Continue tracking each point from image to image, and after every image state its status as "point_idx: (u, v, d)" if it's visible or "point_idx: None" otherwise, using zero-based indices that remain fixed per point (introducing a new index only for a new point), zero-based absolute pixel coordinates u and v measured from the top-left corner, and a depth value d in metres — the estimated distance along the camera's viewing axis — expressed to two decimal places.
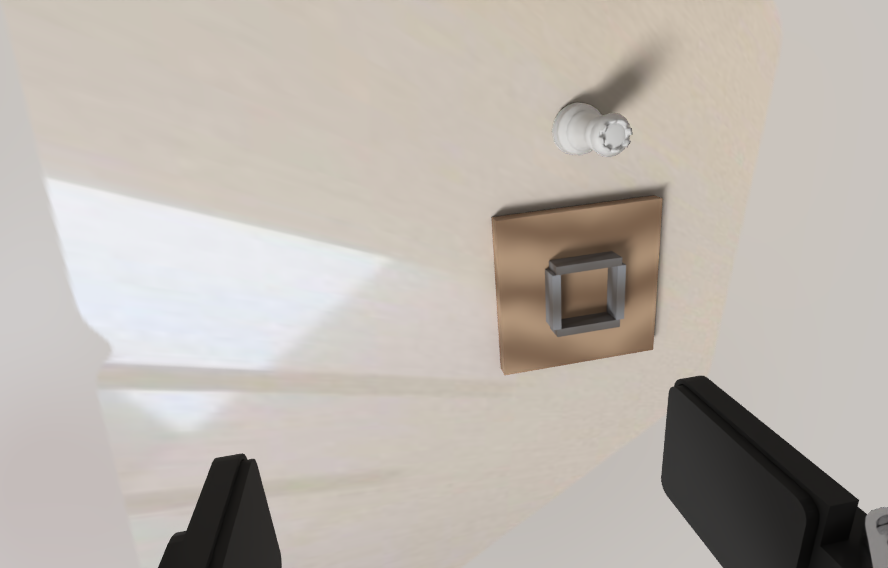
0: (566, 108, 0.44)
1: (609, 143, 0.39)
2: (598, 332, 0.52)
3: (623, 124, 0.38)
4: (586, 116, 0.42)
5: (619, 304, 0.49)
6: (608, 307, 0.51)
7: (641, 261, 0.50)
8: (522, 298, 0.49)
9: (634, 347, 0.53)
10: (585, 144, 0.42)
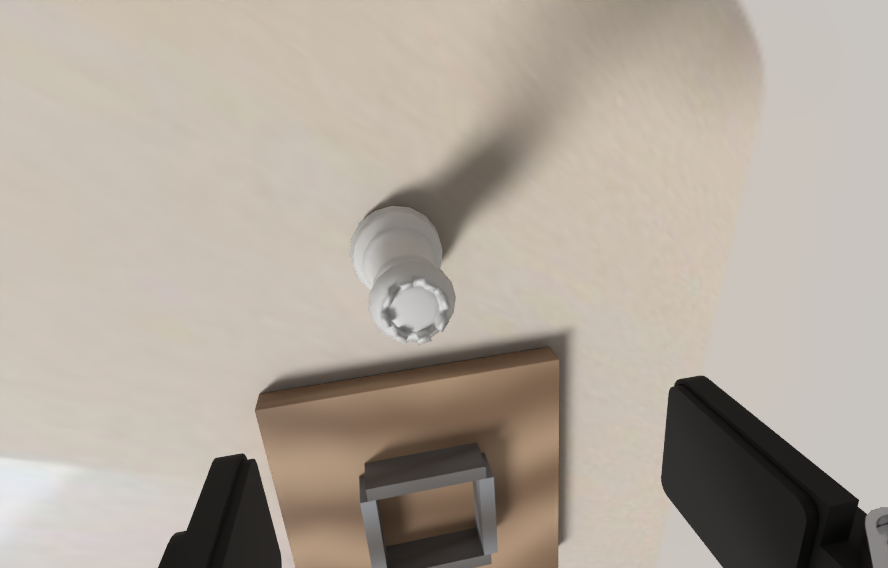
0: (372, 217, 0.24)
1: (404, 323, 0.19)
2: None
3: (428, 290, 0.18)
4: (390, 244, 0.22)
5: (487, 533, 0.29)
6: (476, 524, 0.31)
7: (529, 453, 0.30)
8: (325, 520, 0.29)
9: None
10: None
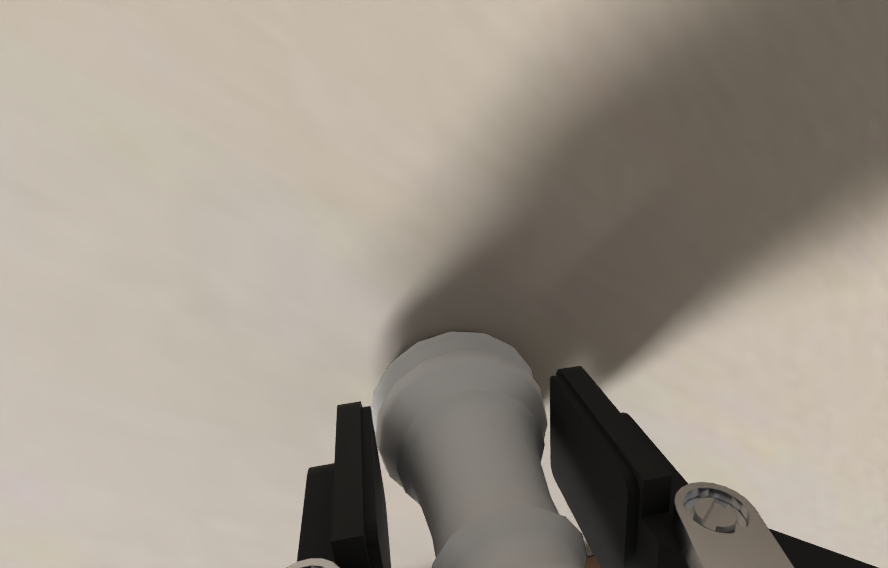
0: (414, 354, 0.13)
1: None
2: None
3: None
4: (460, 440, 0.10)
5: None
6: None
7: None
8: None
9: None
10: None
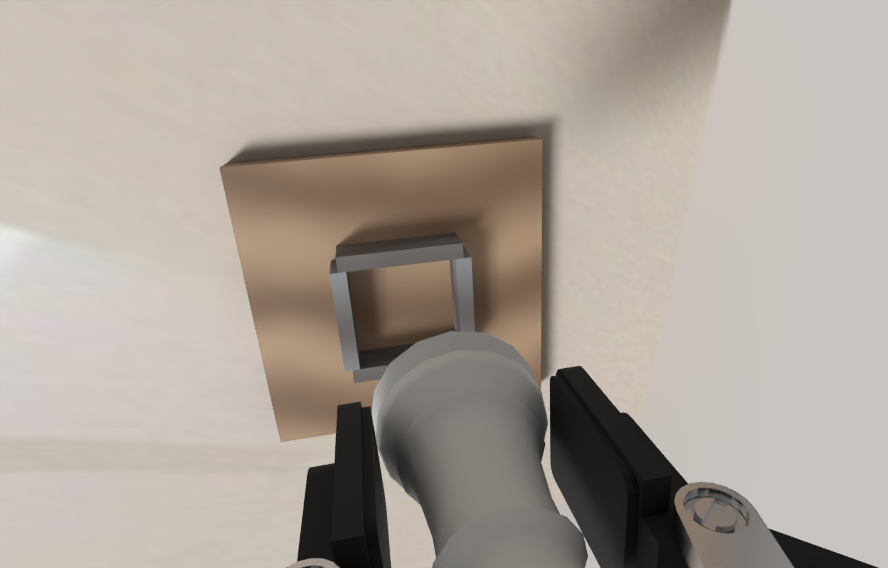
0: (414, 353, 0.13)
1: None
2: None
3: None
4: (460, 440, 0.10)
5: (465, 327, 0.28)
6: None
7: (510, 252, 0.29)
8: (294, 312, 0.28)
9: None
10: None
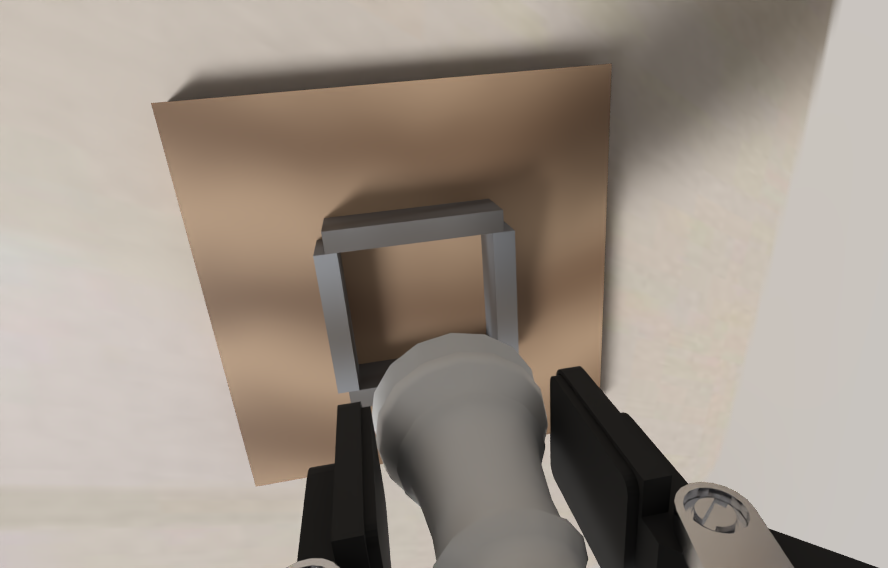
0: (414, 355, 0.13)
1: None
2: None
3: None
4: (460, 442, 0.10)
5: (504, 330, 0.20)
6: (488, 335, 0.22)
7: (564, 226, 0.21)
8: (268, 313, 0.20)
9: None
10: None
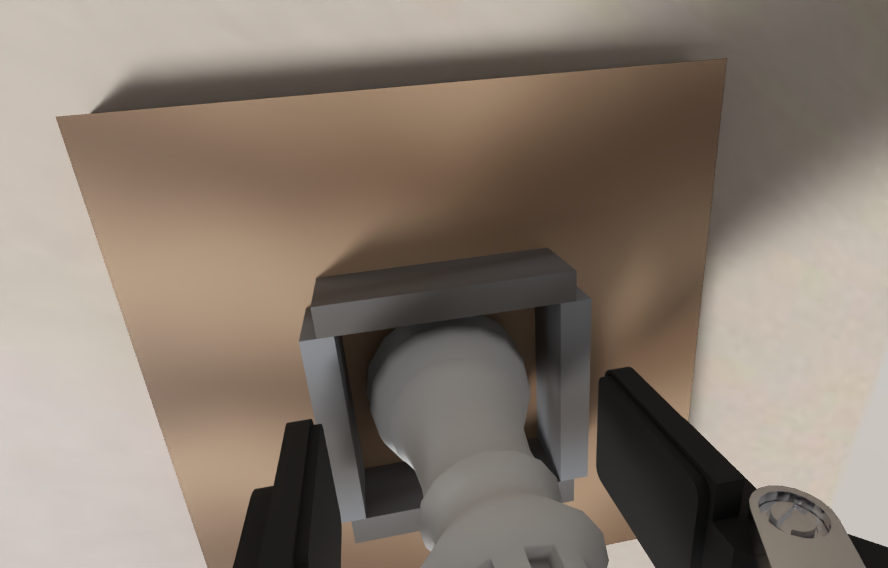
0: (406, 329, 0.14)
1: None
2: None
3: None
4: (447, 400, 0.11)
5: (570, 433, 0.14)
6: (540, 428, 0.16)
7: (647, 283, 0.15)
8: (239, 406, 0.14)
9: (622, 527, 0.18)
10: None
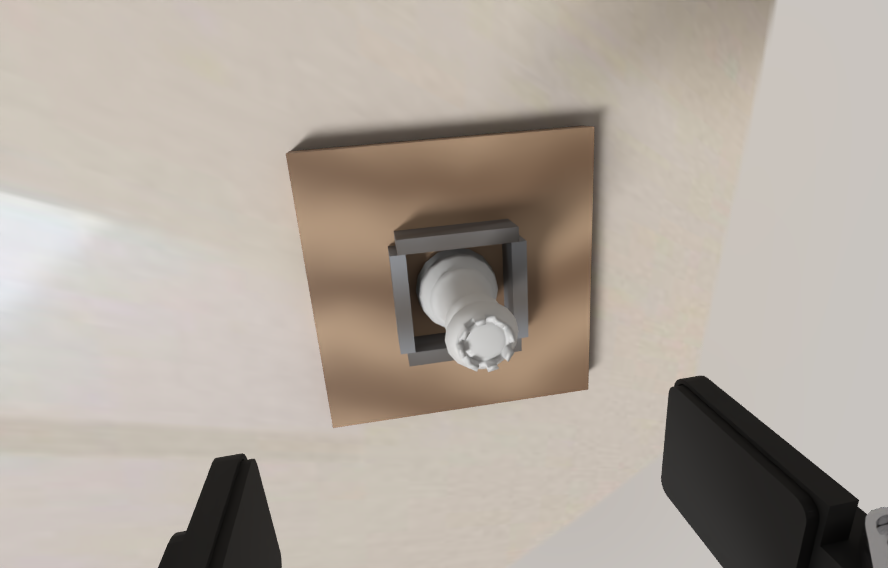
0: (436, 257, 0.28)
1: (476, 353, 0.22)
2: None
3: (499, 326, 0.21)
4: (457, 282, 0.25)
5: (518, 311, 0.28)
6: None
7: (561, 239, 0.29)
8: (351, 297, 0.28)
9: (555, 384, 0.32)
10: None
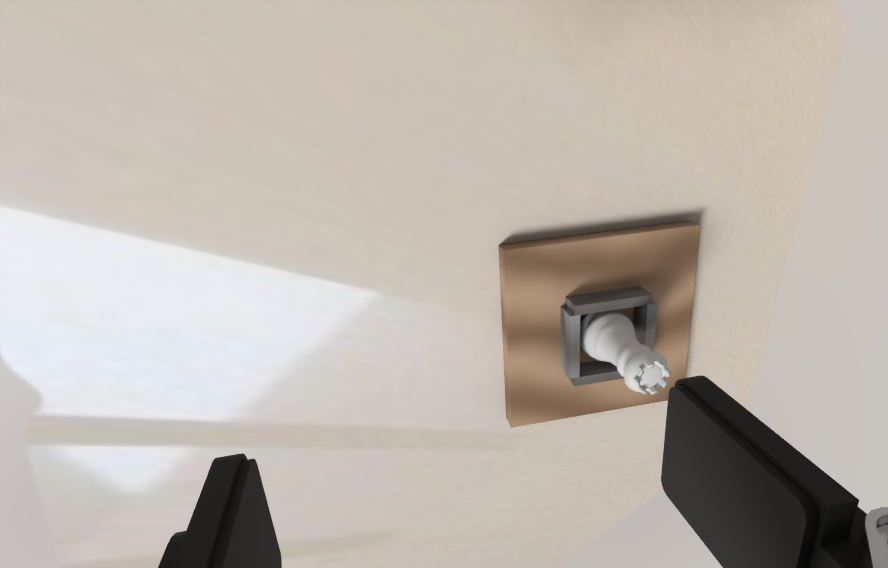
0: (593, 313, 0.41)
1: (644, 383, 0.35)
2: (621, 378, 0.45)
3: (661, 367, 0.35)
4: (617, 334, 0.39)
5: None
6: None
7: (673, 297, 0.43)
8: (533, 340, 0.42)
9: (661, 394, 0.46)
10: (615, 365, 0.39)
